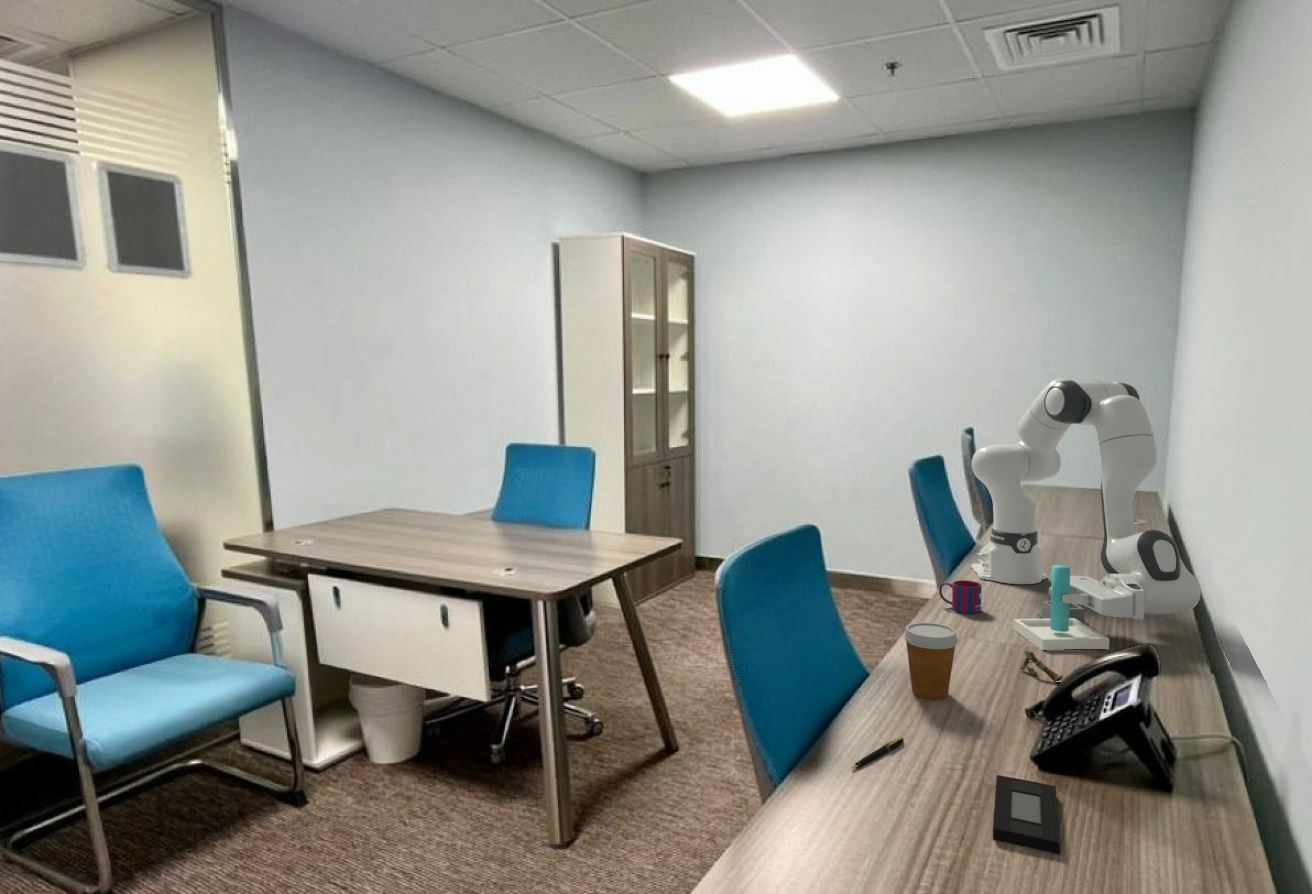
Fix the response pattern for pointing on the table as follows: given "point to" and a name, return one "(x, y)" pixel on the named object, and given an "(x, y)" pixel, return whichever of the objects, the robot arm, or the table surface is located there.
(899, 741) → the fountain pen
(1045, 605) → the holder
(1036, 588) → the table surface
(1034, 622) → the tray
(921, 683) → the disposable coffee cup
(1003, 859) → the table surface
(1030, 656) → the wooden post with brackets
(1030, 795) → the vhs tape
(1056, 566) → the dowel
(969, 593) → the cup
